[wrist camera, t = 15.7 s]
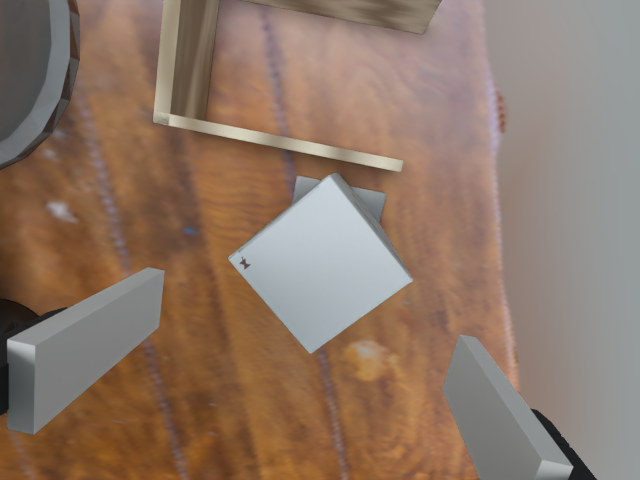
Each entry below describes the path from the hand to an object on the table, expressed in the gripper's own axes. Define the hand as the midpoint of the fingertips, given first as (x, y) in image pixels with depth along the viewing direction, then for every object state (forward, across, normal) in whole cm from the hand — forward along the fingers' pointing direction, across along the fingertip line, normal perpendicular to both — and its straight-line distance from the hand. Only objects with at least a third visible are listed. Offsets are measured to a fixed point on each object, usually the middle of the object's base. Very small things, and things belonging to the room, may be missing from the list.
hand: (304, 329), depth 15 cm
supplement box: (+26, 0, 0) cm, 26 cm away
